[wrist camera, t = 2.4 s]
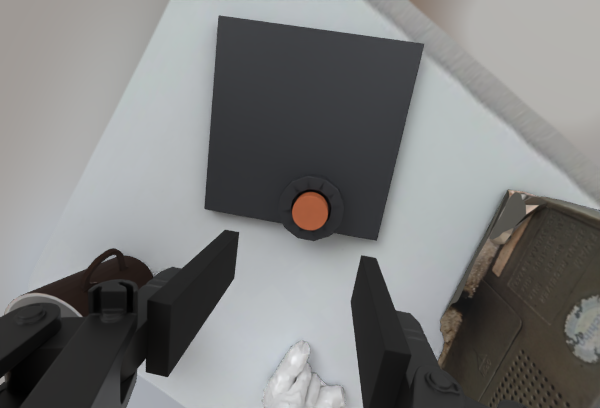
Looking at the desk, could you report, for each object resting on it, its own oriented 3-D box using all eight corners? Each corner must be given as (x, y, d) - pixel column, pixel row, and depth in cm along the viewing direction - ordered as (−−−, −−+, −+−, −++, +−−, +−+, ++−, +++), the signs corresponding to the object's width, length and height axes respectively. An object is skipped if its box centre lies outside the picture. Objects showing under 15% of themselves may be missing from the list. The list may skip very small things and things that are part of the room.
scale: (208, 211, 31) (195, 219, 28) (223, 20, 26) (210, 6, 23) (373, 241, 30) (378, 253, 27) (420, 48, 25) (431, 36, 22)
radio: (475, 393, 33) (589, 597, 18) (404, 367, 33) (462, 548, 18) (595, 211, 27) (907, 302, 12) (508, 180, 27) (715, 233, 12)
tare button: (292, 221, 27) (289, 227, 26) (297, 189, 26) (294, 192, 25) (324, 227, 27) (324, 233, 25) (331, 195, 26) (330, 199, 25)
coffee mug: (126, 322, 35) (50, 392, 26) (81, 268, 34) (-16, 320, 25) (196, 281, 33) (141, 341, 23) (151, 220, 32) (72, 258, 22)
